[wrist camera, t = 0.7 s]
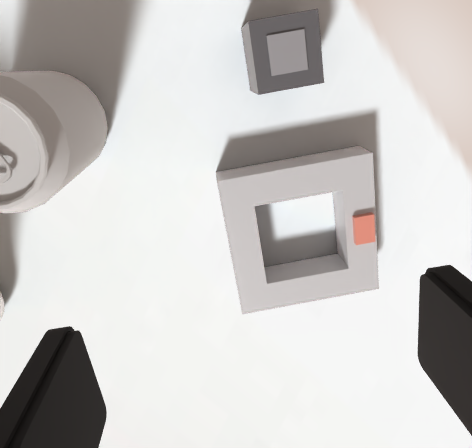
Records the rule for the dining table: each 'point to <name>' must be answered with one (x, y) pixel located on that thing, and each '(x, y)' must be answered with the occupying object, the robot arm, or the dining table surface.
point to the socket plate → (292, 187)
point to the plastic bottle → (1, 306)
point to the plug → (283, 52)
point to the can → (45, 135)
